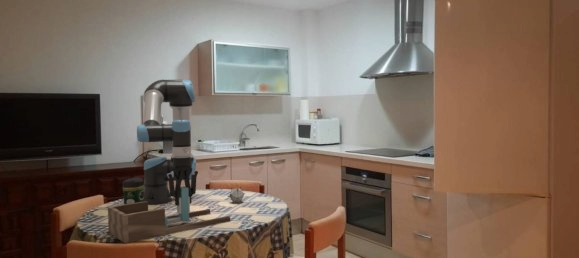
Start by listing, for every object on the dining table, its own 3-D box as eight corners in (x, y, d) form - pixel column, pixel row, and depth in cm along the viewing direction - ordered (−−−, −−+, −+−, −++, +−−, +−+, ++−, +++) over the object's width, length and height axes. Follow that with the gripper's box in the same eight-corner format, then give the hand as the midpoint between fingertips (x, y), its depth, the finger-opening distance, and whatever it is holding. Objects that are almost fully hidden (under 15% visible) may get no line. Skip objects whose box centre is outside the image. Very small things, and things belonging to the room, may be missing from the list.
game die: (239, 210, 213) (241, 197, 207) (224, 204, 215) (226, 191, 209) (246, 199, 220) (248, 186, 214) (232, 193, 222) (234, 180, 216)
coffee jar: (130, 216, 188) (129, 176, 188) (147, 216, 188) (146, 176, 187) (120, 222, 179) (119, 179, 178) (138, 222, 178) (137, 179, 177)
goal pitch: (108, 231, 164) (107, 206, 164) (208, 213, 193) (208, 191, 192) (124, 243, 150) (123, 215, 149) (230, 221, 178) (229, 198, 178)
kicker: (149, 224, 172) (148, 188, 172) (179, 219, 181) (179, 184, 180) (163, 231, 161) (162, 193, 161) (194, 225, 170) (193, 189, 169)
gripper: (167, 159, 165) (168, 217, 166) (203, 155, 176) (205, 210, 177) (159, 157, 171) (161, 213, 172) (195, 154, 181) (196, 207, 182)
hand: (183, 212), depth 174 cm, fingers closed on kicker, 3 cm apart
